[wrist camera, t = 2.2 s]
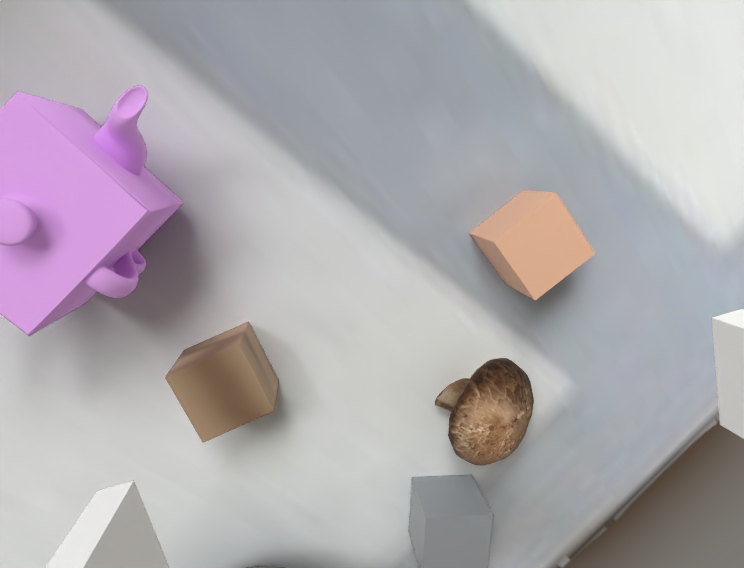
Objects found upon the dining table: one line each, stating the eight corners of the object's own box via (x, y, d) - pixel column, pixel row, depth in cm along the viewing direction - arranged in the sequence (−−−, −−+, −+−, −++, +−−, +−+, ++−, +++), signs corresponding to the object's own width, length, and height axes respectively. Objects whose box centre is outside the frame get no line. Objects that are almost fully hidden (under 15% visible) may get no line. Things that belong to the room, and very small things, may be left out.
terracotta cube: (505, 284, 37) (535, 300, 33) (468, 232, 36) (493, 242, 31) (558, 242, 37) (595, 253, 32) (523, 190, 36) (556, 192, 31)
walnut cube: (216, 407, 37) (202, 442, 32) (184, 349, 35) (165, 377, 31) (278, 379, 37) (274, 410, 32) (248, 321, 36) (239, 344, 31)
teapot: (94, 18, 30) (-3, -53, 21) (255, 176, 33) (235, 178, 24) (-98, 226, 31) (-273, 249, 22) (75, 360, 35) (-12, 430, 25)
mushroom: (400, 415, 35) (475, 456, 31) (456, 324, 37) (532, 351, 33) (441, 453, 40) (509, 493, 36) (488, 371, 43) (557, 400, 39)
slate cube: (408, 530, 41) (421, 577, 36) (411, 476, 40) (425, 518, 35) (466, 526, 42) (487, 573, 37) (471, 473, 41) (493, 514, 36)
